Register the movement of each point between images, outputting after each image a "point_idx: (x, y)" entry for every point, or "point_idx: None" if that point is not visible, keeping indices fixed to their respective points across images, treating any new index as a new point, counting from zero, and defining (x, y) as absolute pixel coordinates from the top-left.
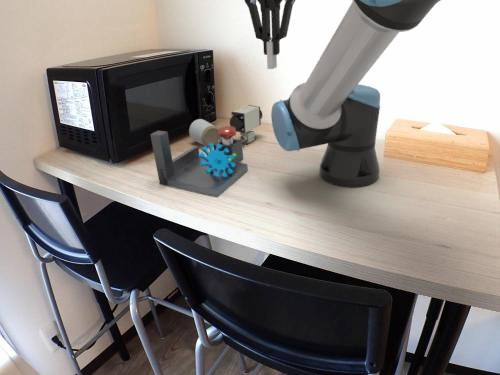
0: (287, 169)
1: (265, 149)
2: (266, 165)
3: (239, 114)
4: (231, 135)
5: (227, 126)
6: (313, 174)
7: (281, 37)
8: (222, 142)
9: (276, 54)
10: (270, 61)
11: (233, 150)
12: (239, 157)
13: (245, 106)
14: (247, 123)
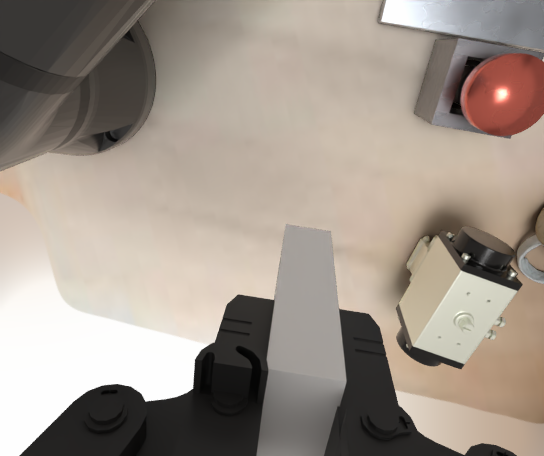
0: (252, 63)
1: (355, 202)
2: (325, 79)
3: (481, 268)
4: (476, 69)
5: (511, 129)
6: (168, 44)
7: (109, 396)
8: None
9: (242, 296)
10: (302, 253)
11: (449, 51)
12: (425, 89)
13: (467, 323)
14: (438, 262)
